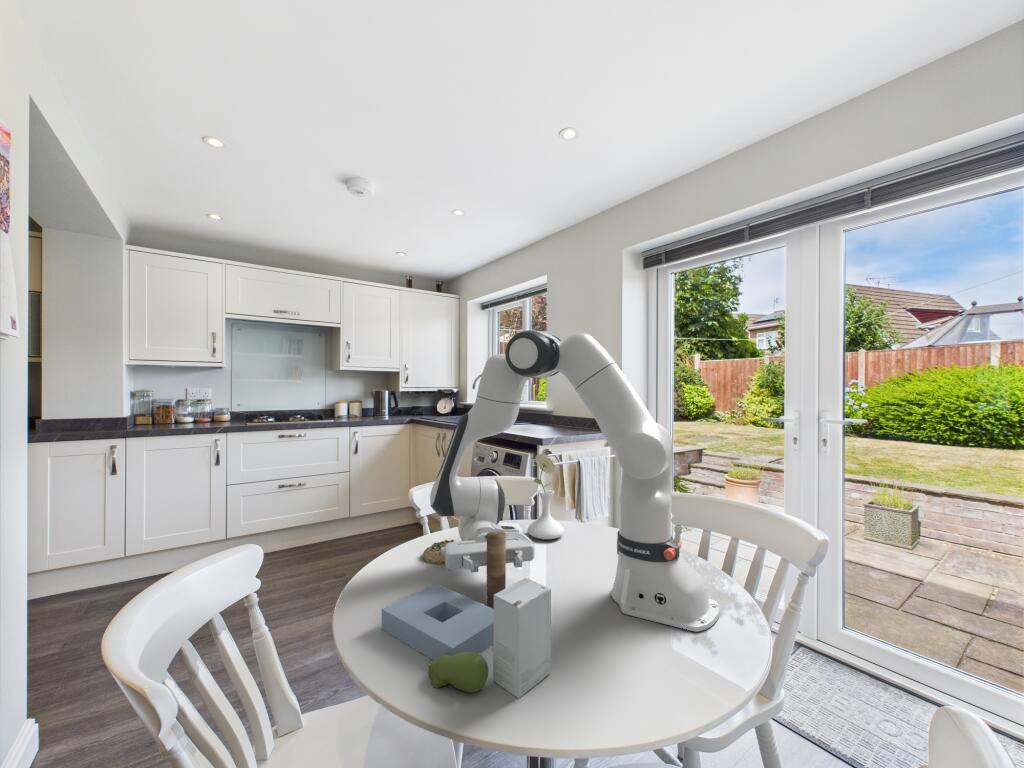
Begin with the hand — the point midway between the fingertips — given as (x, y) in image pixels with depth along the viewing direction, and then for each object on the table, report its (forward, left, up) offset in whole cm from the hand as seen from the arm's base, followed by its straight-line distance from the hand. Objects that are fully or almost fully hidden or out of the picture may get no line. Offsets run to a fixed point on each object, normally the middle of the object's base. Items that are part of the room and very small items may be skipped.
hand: (497, 566), depth 96 cm
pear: (-10, +21, -10) cm, 25 cm away
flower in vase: (+19, -43, -10) cm, 48 cm away
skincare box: (-17, +13, -10) cm, 24 cm away
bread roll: (+30, -12, -10) cm, 34 cm away
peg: (+1, 0, -10) cm, 10 cm away
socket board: (+3, +13, -10) cm, 16 cm away
